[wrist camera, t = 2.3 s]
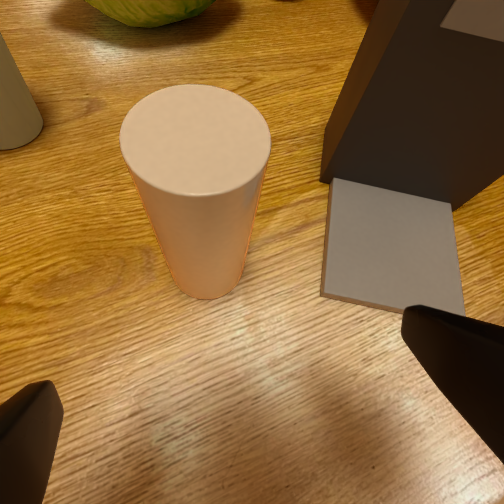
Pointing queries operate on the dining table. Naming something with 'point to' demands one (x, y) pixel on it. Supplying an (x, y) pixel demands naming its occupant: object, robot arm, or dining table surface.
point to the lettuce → (150, 10)
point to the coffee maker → (412, 151)
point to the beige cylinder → (198, 180)
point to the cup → (15, 105)
